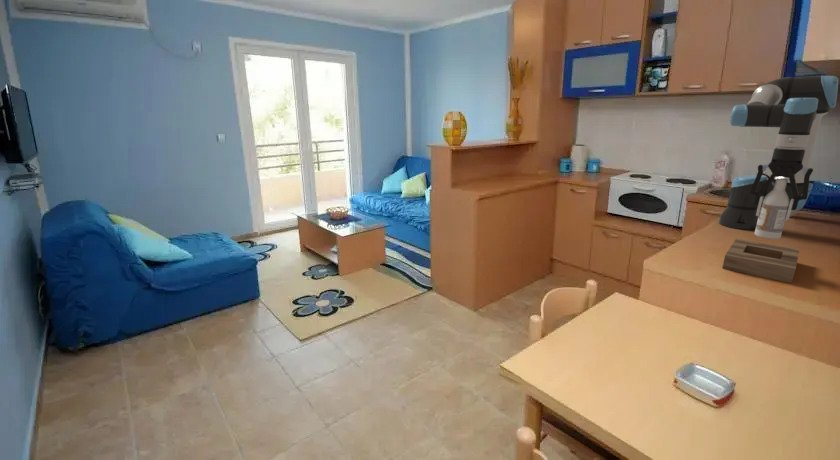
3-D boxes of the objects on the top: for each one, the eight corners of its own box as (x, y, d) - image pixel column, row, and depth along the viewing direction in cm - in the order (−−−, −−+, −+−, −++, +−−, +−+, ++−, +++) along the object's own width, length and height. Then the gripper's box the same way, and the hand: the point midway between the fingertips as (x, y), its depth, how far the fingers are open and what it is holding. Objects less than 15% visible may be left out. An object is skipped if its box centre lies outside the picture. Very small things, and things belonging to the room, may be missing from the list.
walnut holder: (733, 250, 156) (736, 238, 154) (795, 262, 144) (799, 249, 142) (722, 268, 139) (725, 254, 138) (791, 283, 127) (795, 268, 126)
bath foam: (750, 232, 142) (763, 176, 136) (773, 234, 141) (788, 177, 135) (760, 239, 136) (775, 180, 130) (784, 240, 134) (801, 181, 128)
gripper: (749, 147, 133) (733, 213, 140) (833, 151, 120) (811, 224, 127) (752, 145, 139) (737, 210, 145) (833, 149, 125) (812, 220, 132)
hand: (772, 216), depth 136 cm, fingers closed on bath foam, 7 cm apart
